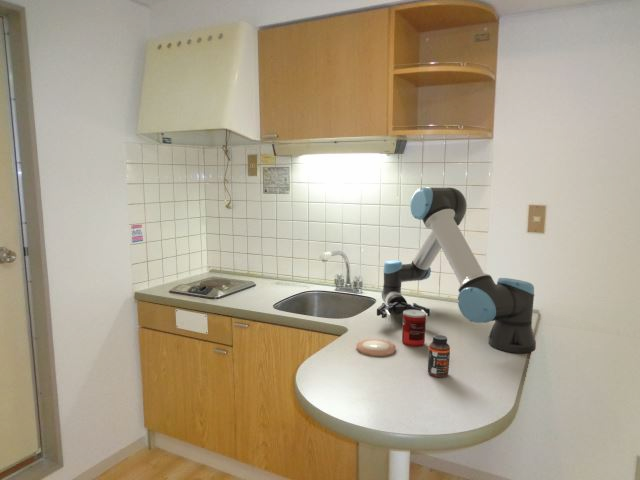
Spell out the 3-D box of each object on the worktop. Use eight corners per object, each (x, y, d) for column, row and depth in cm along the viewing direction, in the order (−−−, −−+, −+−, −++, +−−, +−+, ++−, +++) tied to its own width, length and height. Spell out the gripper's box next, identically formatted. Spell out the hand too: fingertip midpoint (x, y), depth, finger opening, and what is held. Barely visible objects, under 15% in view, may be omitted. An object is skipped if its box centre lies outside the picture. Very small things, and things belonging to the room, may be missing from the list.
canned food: (409, 337, 168) (411, 308, 166) (429, 343, 162) (430, 312, 160) (397, 342, 162) (398, 312, 161) (416, 348, 157) (418, 317, 155)
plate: (403, 351, 154) (403, 347, 154) (372, 359, 147) (373, 355, 147) (378, 340, 165) (378, 336, 164) (348, 346, 158) (348, 342, 158)
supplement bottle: (436, 379, 132) (438, 341, 131) (423, 371, 138) (425, 334, 136) (452, 376, 135) (454, 338, 134) (439, 368, 140) (441, 332, 139)
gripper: (426, 311, 191) (441, 328, 170) (365, 311, 190) (373, 328, 169) (426, 294, 190) (442, 308, 169) (366, 293, 189) (374, 308, 168)
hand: (407, 318), depth 169 cm, fingers open, 13 cm apart
